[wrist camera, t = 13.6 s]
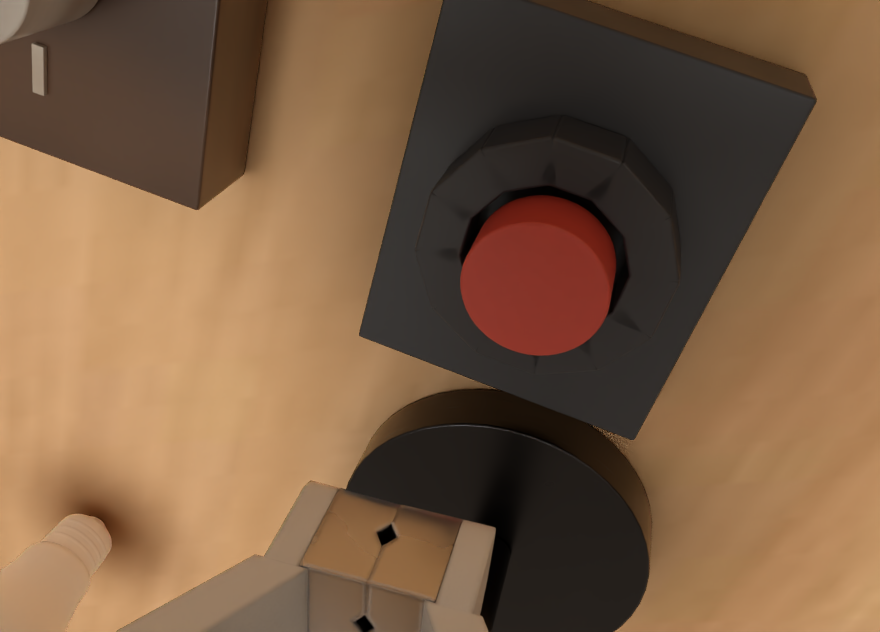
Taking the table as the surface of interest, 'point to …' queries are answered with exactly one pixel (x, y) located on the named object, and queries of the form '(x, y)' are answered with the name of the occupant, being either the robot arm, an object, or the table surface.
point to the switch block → (580, 187)
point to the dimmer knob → (38, 15)
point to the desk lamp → (523, 504)
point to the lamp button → (539, 275)
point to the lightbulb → (52, 576)
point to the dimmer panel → (141, 92)
